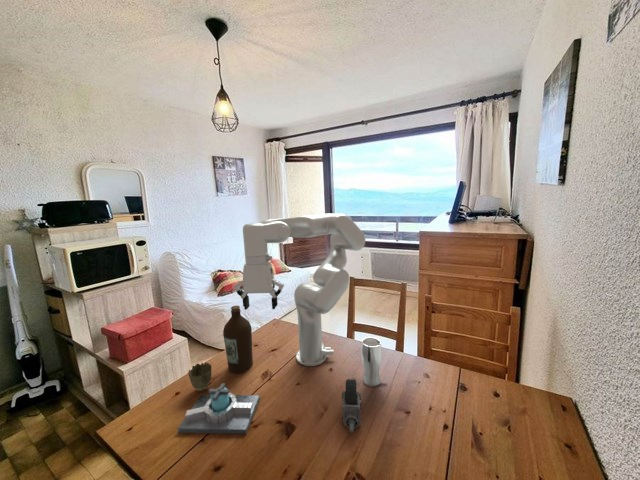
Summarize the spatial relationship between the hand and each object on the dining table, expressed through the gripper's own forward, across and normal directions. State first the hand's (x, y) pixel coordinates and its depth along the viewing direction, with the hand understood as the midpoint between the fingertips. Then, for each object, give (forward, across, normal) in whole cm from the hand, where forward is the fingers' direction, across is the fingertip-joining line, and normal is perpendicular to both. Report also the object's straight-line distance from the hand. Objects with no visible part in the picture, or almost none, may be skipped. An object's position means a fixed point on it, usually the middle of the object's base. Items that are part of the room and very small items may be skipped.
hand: (260, 307), depth 91 cm
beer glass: (+28, -38, -1) cm, 48 cm away
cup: (+28, +22, +4) cm, 36 cm away
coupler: (+27, +10, +15) cm, 32 cm away
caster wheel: (+29, -30, +15) cm, 44 cm away
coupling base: (+28, +10, +15) cm, 34 cm away
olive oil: (+28, +13, -9) cm, 33 cm away
